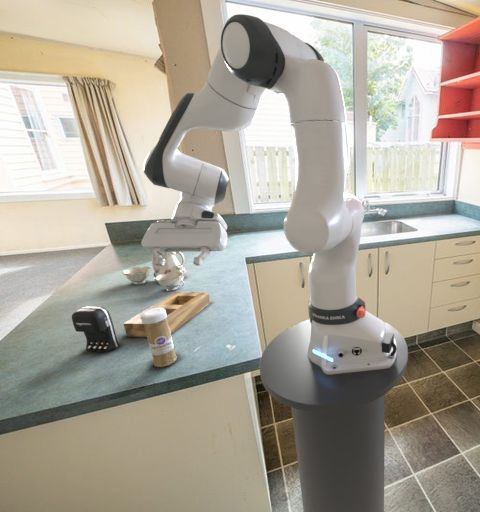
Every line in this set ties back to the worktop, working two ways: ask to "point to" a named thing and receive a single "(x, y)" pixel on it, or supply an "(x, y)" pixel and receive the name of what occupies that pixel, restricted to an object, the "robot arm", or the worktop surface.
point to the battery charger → (96, 328)
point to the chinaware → (161, 272)
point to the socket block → (171, 312)
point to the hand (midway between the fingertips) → (178, 265)
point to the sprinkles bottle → (159, 336)
